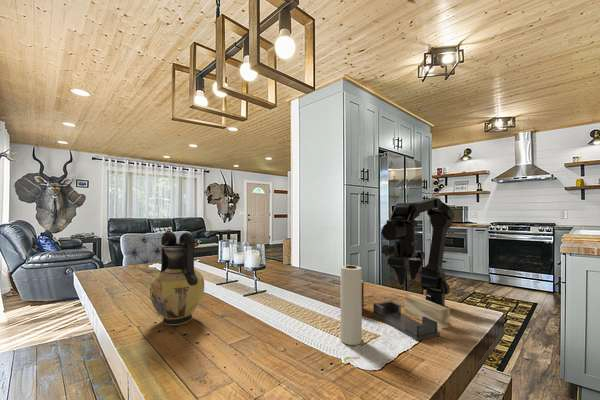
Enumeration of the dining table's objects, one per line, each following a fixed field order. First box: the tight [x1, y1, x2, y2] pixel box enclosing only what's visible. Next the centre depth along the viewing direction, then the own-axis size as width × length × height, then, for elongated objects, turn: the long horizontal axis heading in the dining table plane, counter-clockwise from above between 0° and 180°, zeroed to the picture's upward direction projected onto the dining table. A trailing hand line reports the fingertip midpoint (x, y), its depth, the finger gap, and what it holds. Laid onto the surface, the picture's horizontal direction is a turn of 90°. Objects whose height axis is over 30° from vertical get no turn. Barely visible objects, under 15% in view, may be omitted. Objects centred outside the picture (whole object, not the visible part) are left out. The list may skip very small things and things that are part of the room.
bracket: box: [371, 300, 441, 342], centre depth 94 cm, size 9×22×4 cm, turn 21°
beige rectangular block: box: [404, 294, 451, 329], centre depth 99 cm, size 4×16×6 cm, turn 23°
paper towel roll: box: [339, 263, 363, 346], centre depth 83 cm, size 7×6×21 cm
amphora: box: [149, 231, 205, 326], centre depth 96 cm, size 18×17×30 cm
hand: (407, 282), depth 100 cm, fingers open, 9 cm apart
